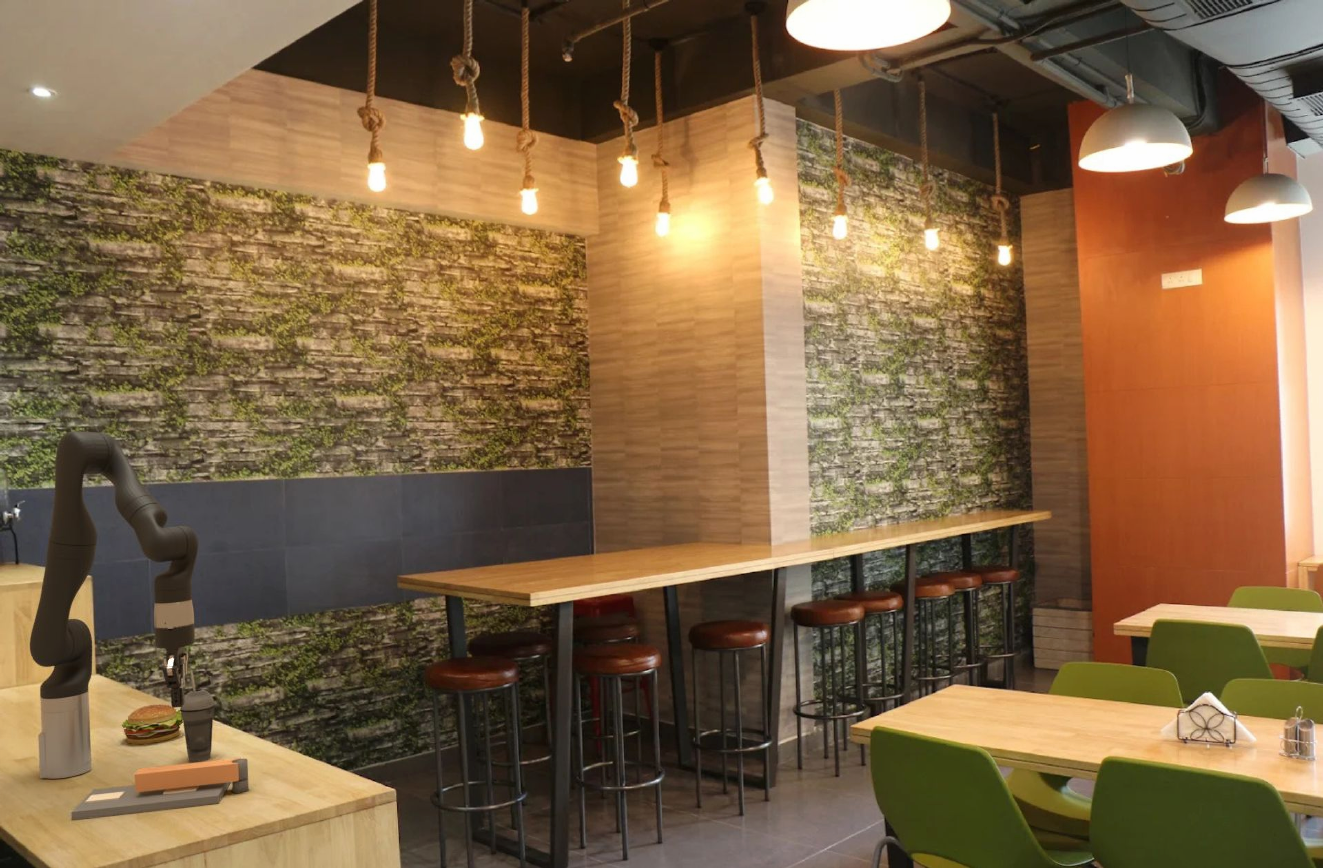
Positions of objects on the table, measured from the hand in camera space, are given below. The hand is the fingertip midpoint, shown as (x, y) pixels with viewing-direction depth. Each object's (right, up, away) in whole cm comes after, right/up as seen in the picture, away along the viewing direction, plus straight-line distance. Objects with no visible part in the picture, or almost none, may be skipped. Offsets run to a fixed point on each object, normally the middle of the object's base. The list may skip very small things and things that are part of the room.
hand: (178, 706), depth 218 cm
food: (-24, -18, +38) cm, 48 cm away
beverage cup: (-4, -17, +18) cm, 25 cm away
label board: (+2, -16, -9) cm, 19 cm away
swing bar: (+7, -13, -8) cm, 17 cm away
